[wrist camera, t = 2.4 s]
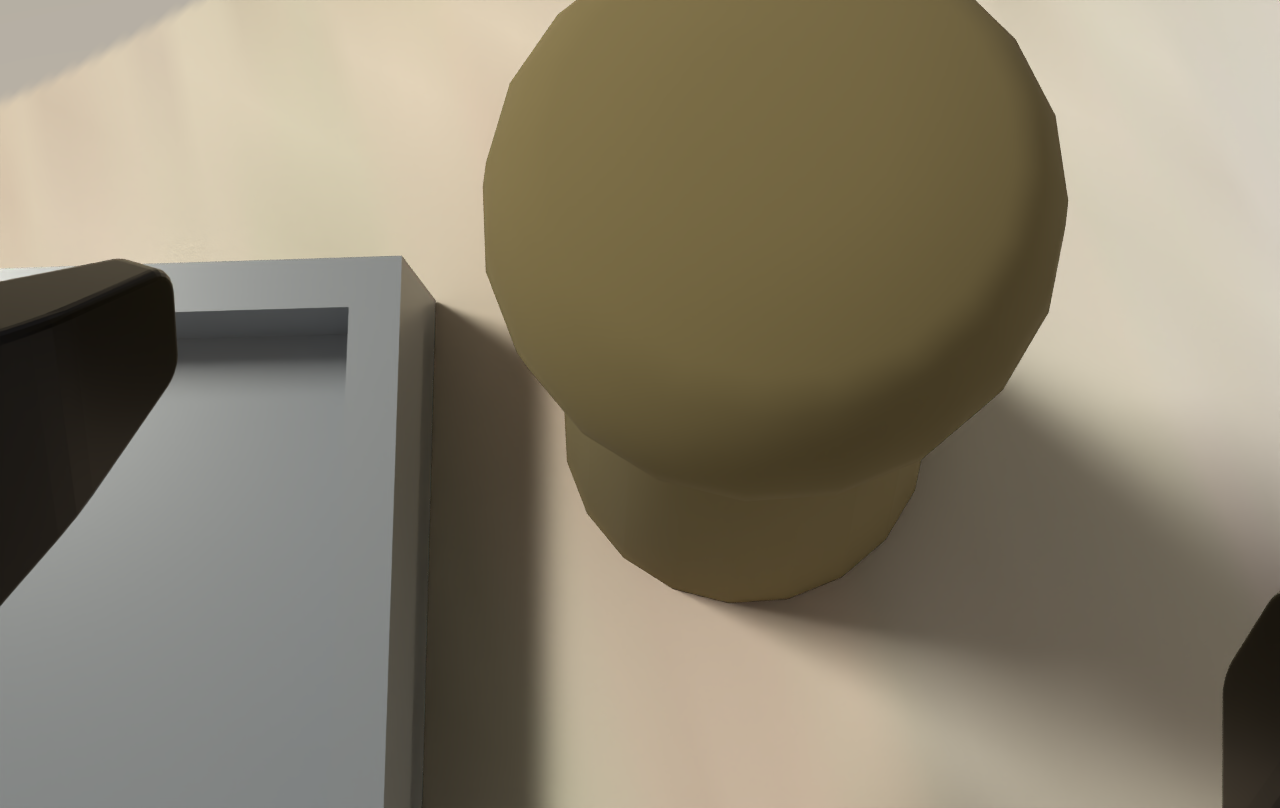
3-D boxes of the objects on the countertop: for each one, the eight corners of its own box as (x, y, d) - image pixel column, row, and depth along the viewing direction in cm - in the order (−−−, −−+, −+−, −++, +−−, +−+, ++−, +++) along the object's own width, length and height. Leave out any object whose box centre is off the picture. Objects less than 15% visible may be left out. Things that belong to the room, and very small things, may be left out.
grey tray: (418, 951, 18) (377, 990, 16) (-233, 950, 19) (-360, 988, 17) (435, 300, 21) (402, 255, 19) (-146, 317, 21) (-247, 276, 19)
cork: (722, 181, 21) (733, -330, 10) (1001, 401, 20) (1342, 85, 9) (489, 438, 20) (235, 178, 9) (765, 682, 19) (831, 701, 8)
